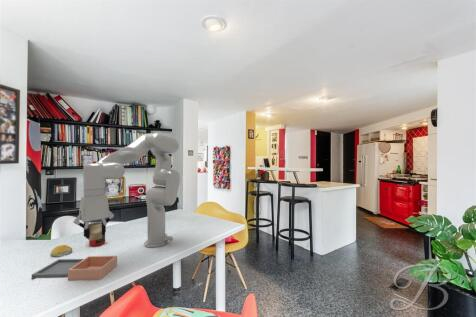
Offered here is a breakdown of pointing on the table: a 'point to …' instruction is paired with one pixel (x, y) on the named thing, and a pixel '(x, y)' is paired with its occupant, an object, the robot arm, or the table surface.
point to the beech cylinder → (95, 231)
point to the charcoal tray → (56, 269)
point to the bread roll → (61, 251)
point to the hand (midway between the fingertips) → (95, 235)
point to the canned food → (97, 242)
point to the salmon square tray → (92, 268)
